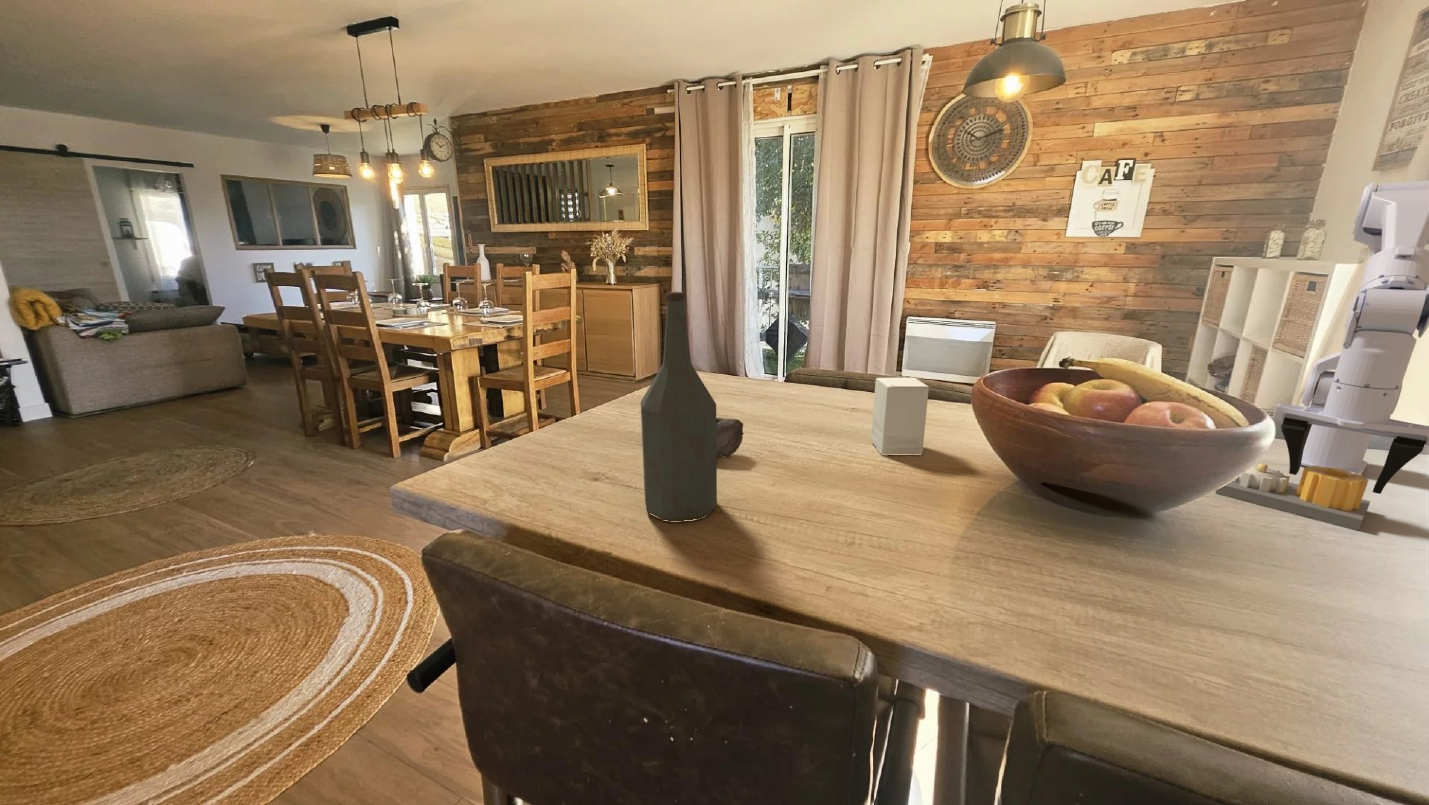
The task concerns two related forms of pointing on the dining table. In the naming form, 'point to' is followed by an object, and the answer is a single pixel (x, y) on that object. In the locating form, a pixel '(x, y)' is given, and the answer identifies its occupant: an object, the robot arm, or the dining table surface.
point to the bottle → (678, 430)
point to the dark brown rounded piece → (728, 435)
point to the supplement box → (899, 415)
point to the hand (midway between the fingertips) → (1333, 481)
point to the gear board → (1287, 497)
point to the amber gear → (1332, 487)
